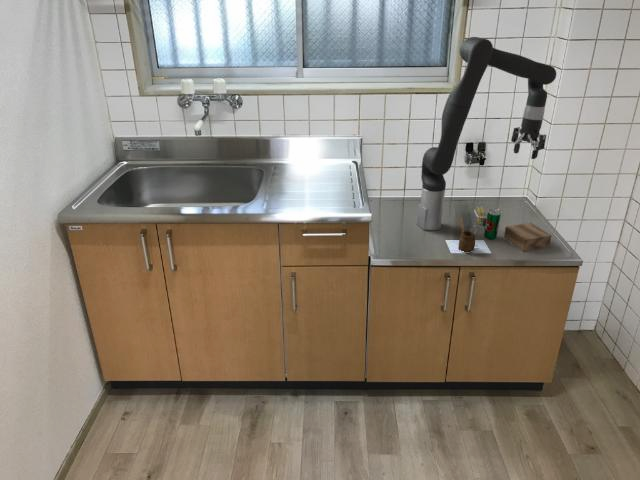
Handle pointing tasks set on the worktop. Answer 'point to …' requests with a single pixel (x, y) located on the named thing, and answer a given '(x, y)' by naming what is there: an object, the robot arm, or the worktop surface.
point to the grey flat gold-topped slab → (480, 215)
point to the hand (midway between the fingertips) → (524, 155)
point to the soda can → (492, 223)
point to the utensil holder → (466, 240)
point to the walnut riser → (527, 236)
